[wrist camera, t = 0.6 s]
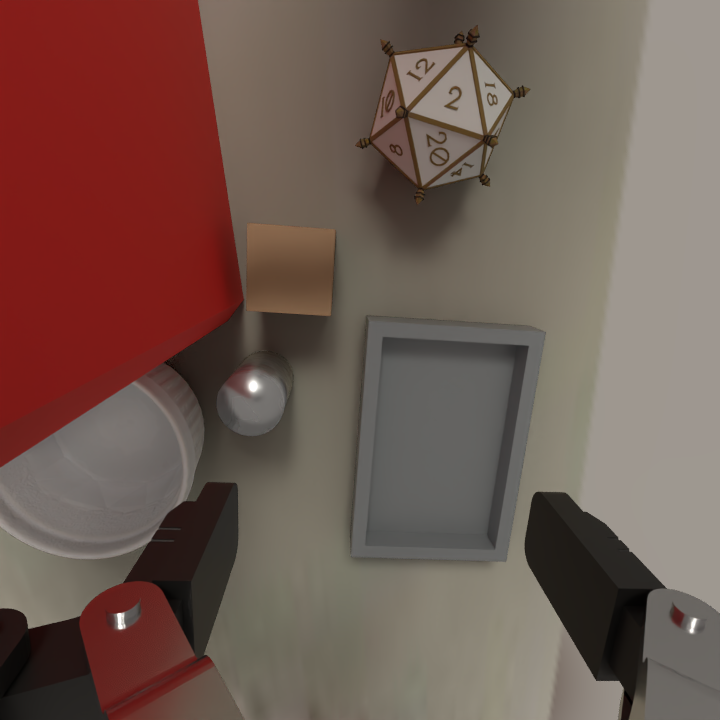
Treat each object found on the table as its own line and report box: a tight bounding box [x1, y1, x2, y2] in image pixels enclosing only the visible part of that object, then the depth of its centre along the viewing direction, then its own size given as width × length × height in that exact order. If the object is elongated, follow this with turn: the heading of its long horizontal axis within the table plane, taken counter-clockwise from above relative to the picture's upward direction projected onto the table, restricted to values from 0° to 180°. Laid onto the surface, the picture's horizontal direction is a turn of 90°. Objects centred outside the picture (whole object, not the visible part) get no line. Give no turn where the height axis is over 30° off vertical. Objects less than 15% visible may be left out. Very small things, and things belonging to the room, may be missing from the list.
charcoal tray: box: [350, 315, 546, 562], centre depth 33 cm, size 18×12×2 cm, turn 176°
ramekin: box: [0, 362, 205, 559], centre depth 29 cm, size 13×13×7 cm
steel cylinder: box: [216, 351, 294, 436], centre depth 30 cm, size 4×4×6 cm
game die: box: [355, 25, 530, 205], centre depth 25 cm, size 9×8×10 cm
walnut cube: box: [246, 223, 336, 316], centre depth 28 cm, size 5×5×5 cm
